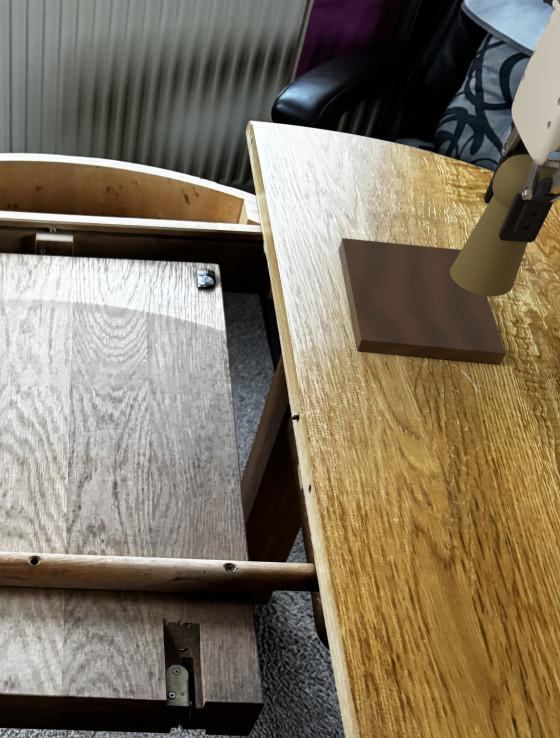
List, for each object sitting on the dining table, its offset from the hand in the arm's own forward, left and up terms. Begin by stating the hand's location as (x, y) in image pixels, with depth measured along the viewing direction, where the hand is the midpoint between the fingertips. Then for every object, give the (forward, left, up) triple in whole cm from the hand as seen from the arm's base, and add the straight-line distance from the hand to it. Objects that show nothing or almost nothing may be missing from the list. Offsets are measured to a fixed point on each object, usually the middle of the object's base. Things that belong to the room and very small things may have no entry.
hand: (508, 219), depth 84 cm
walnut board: (-1, -15, -19) cm, 24 cm away
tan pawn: (0, 0, -6) cm, 6 cm away
